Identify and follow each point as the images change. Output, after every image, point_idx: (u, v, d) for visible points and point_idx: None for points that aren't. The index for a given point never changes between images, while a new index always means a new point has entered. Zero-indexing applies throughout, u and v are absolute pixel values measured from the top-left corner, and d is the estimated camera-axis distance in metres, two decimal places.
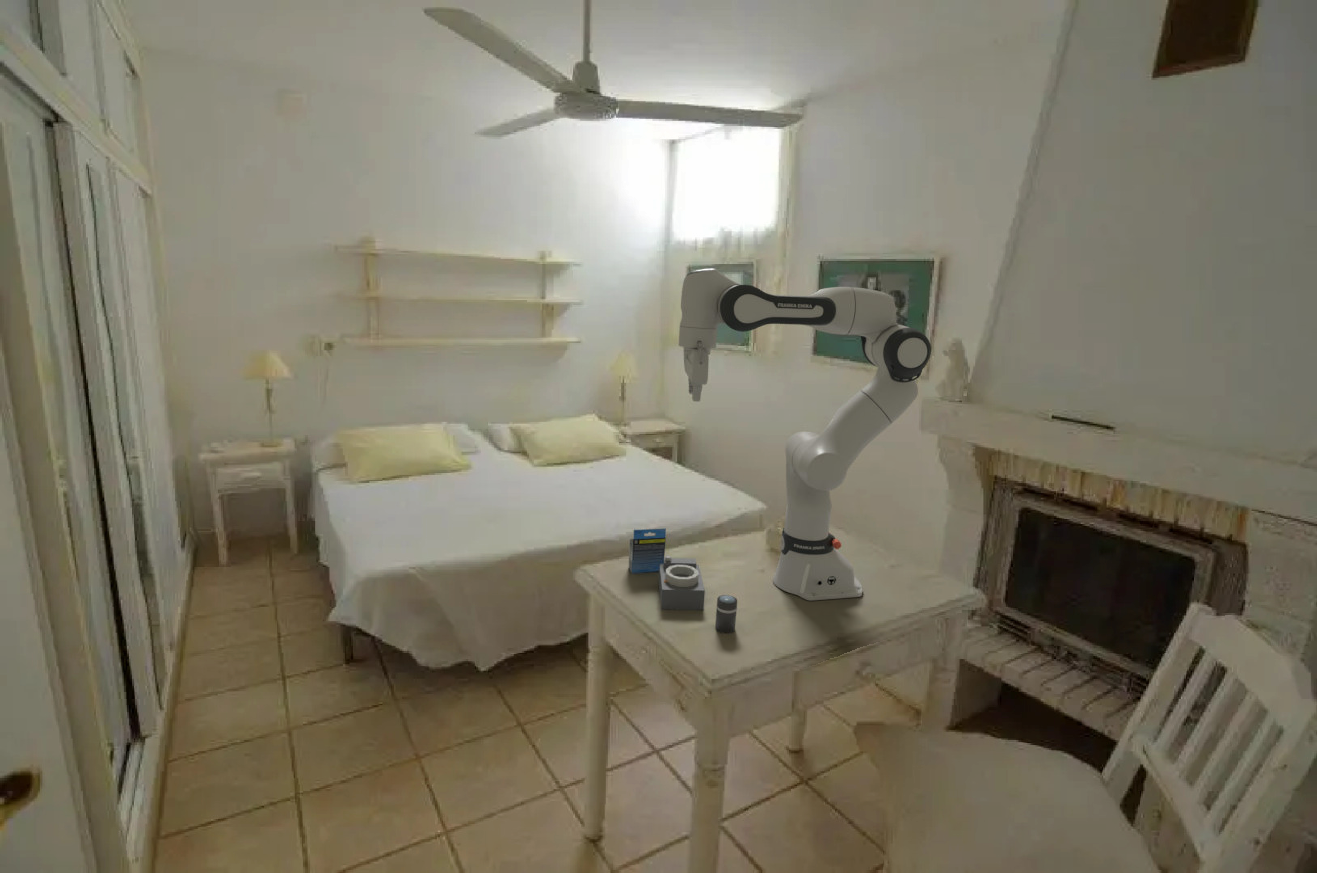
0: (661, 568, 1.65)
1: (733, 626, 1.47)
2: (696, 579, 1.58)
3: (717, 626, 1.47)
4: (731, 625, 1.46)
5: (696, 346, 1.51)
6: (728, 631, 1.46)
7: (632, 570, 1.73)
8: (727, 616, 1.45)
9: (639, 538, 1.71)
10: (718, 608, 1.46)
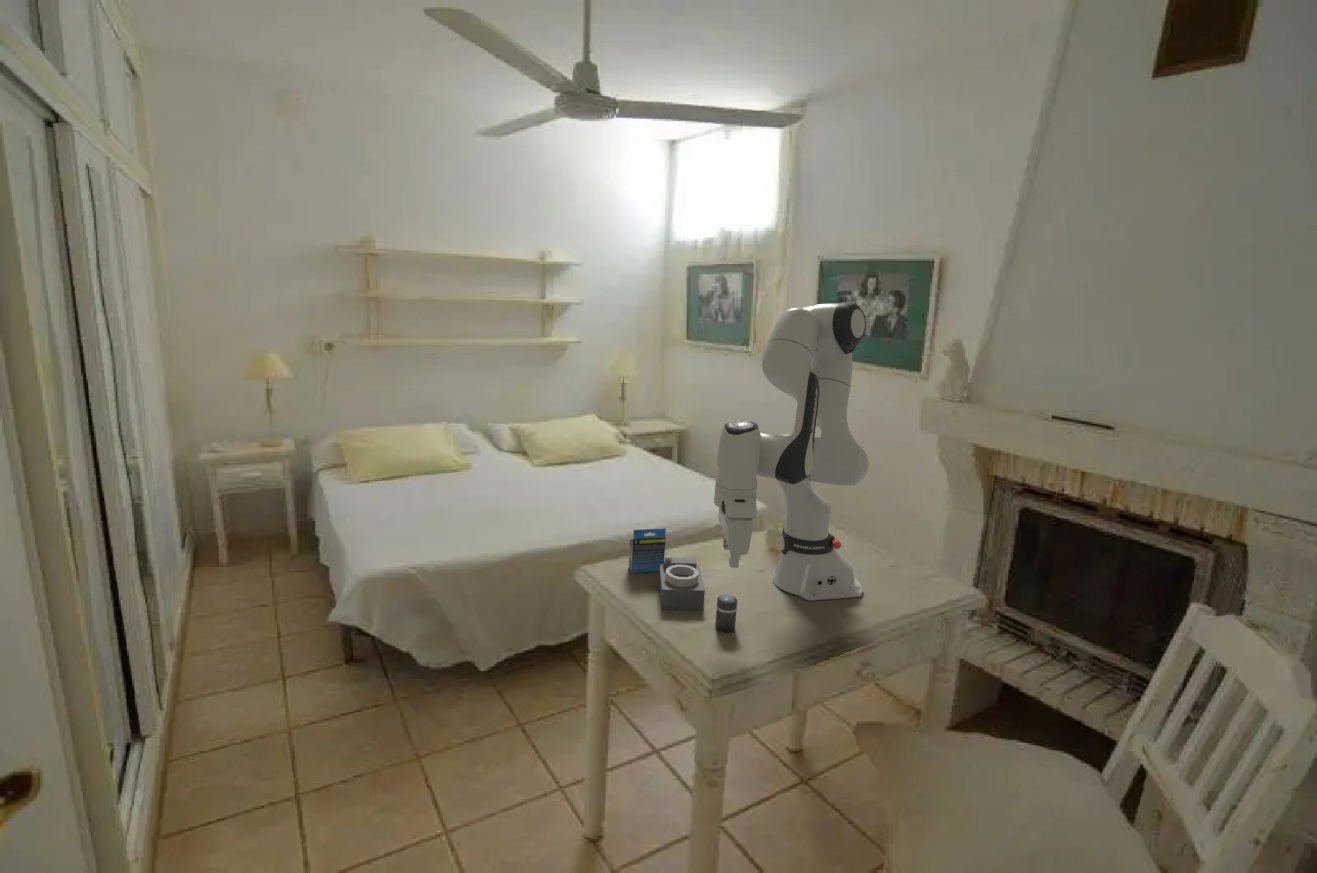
0: (661, 568, 1.65)
1: (733, 626, 1.47)
2: (696, 579, 1.58)
3: (717, 626, 1.47)
4: (731, 625, 1.46)
5: None
6: (728, 631, 1.46)
7: (632, 570, 1.73)
8: (727, 616, 1.45)
9: (639, 538, 1.71)
10: (718, 608, 1.46)
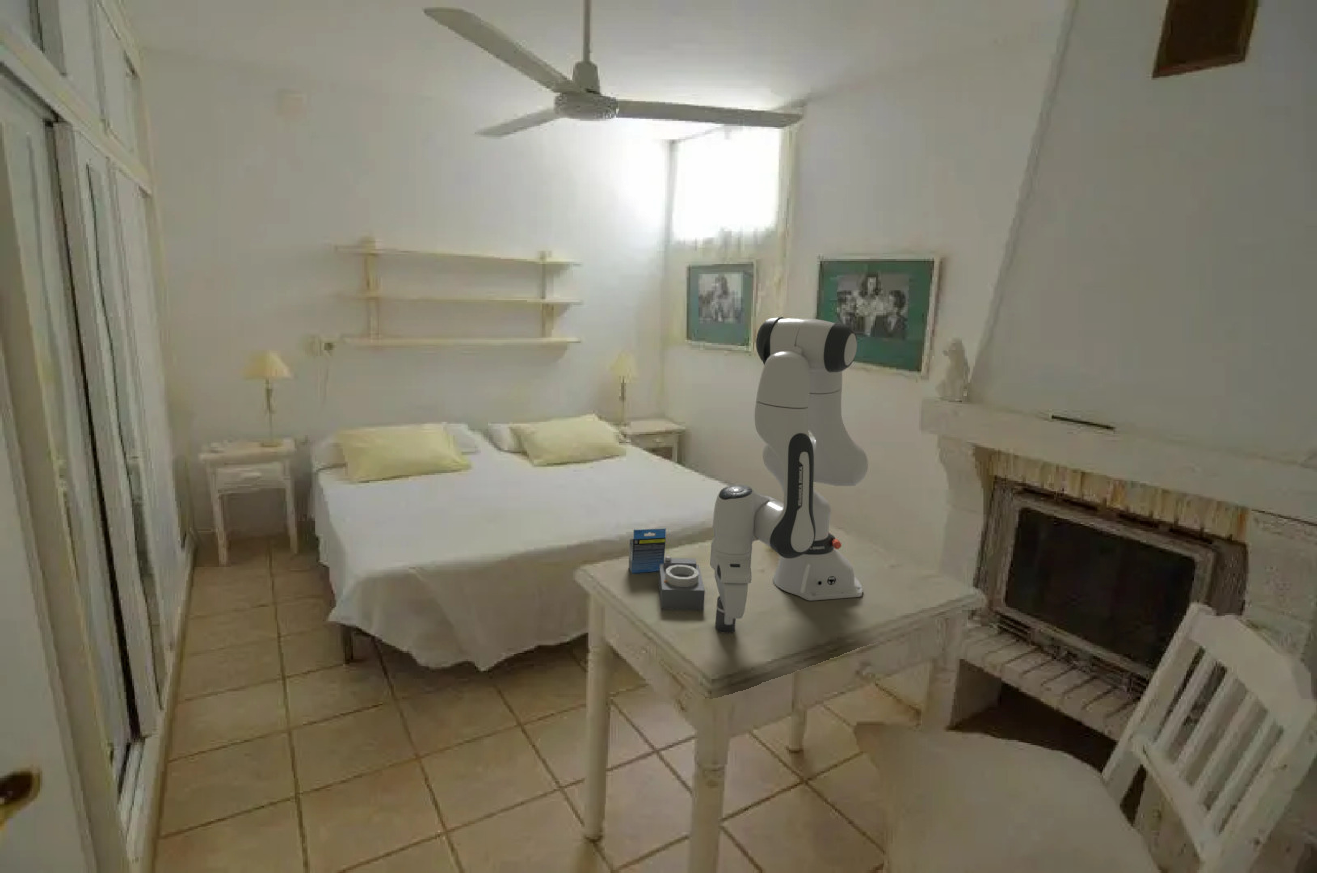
0: (661, 568, 1.65)
1: (733, 626, 1.47)
2: (696, 579, 1.58)
3: (717, 626, 1.47)
4: None
5: None
6: (728, 631, 1.46)
7: (632, 570, 1.73)
8: None
9: (639, 538, 1.71)
10: (718, 608, 1.46)
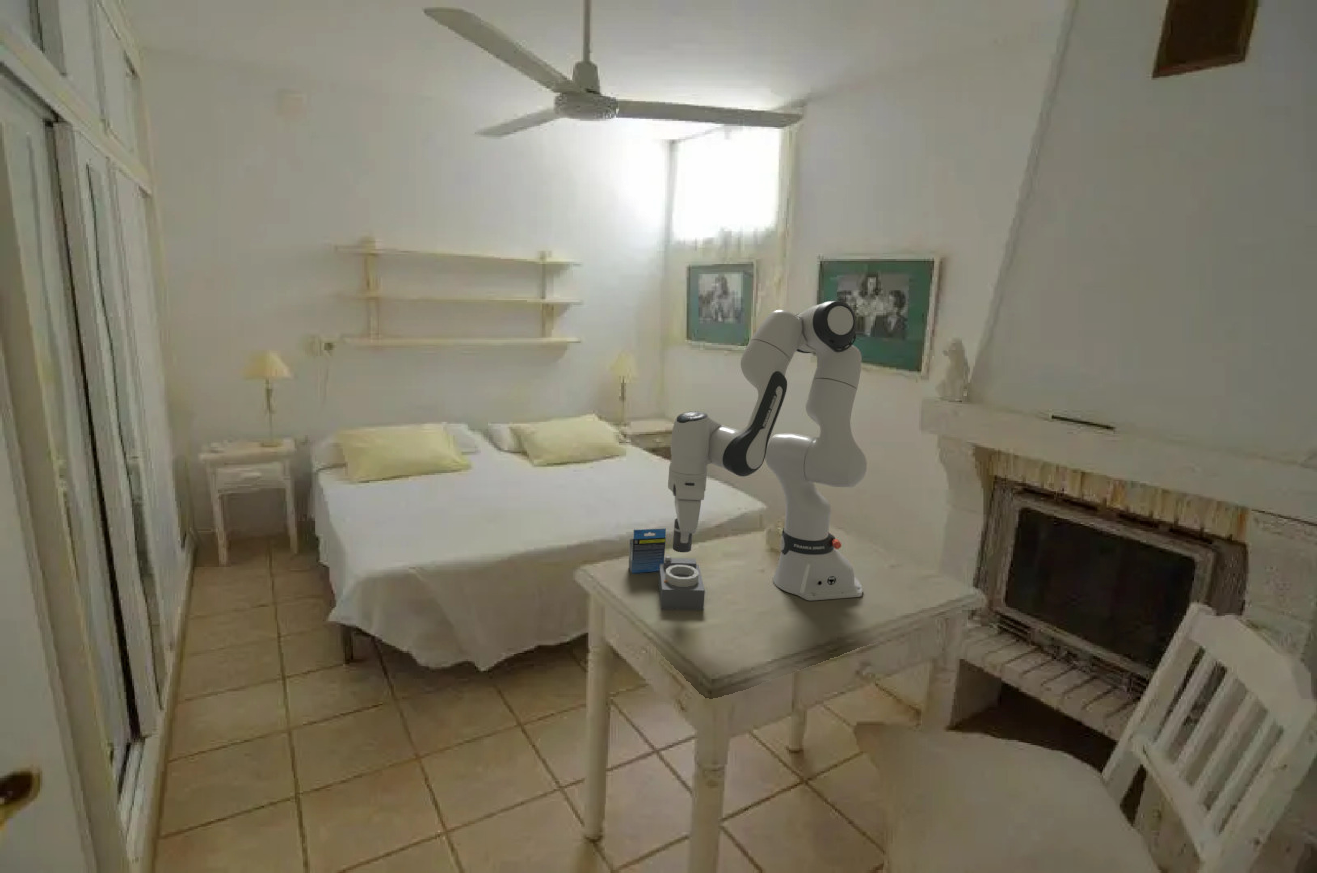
0: (661, 568, 1.65)
1: (689, 546, 1.56)
2: (696, 579, 1.58)
3: (674, 546, 1.56)
4: (687, 544, 1.55)
5: None
6: (684, 550, 1.55)
7: (632, 570, 1.73)
8: None
9: (639, 538, 1.71)
10: (675, 528, 1.55)
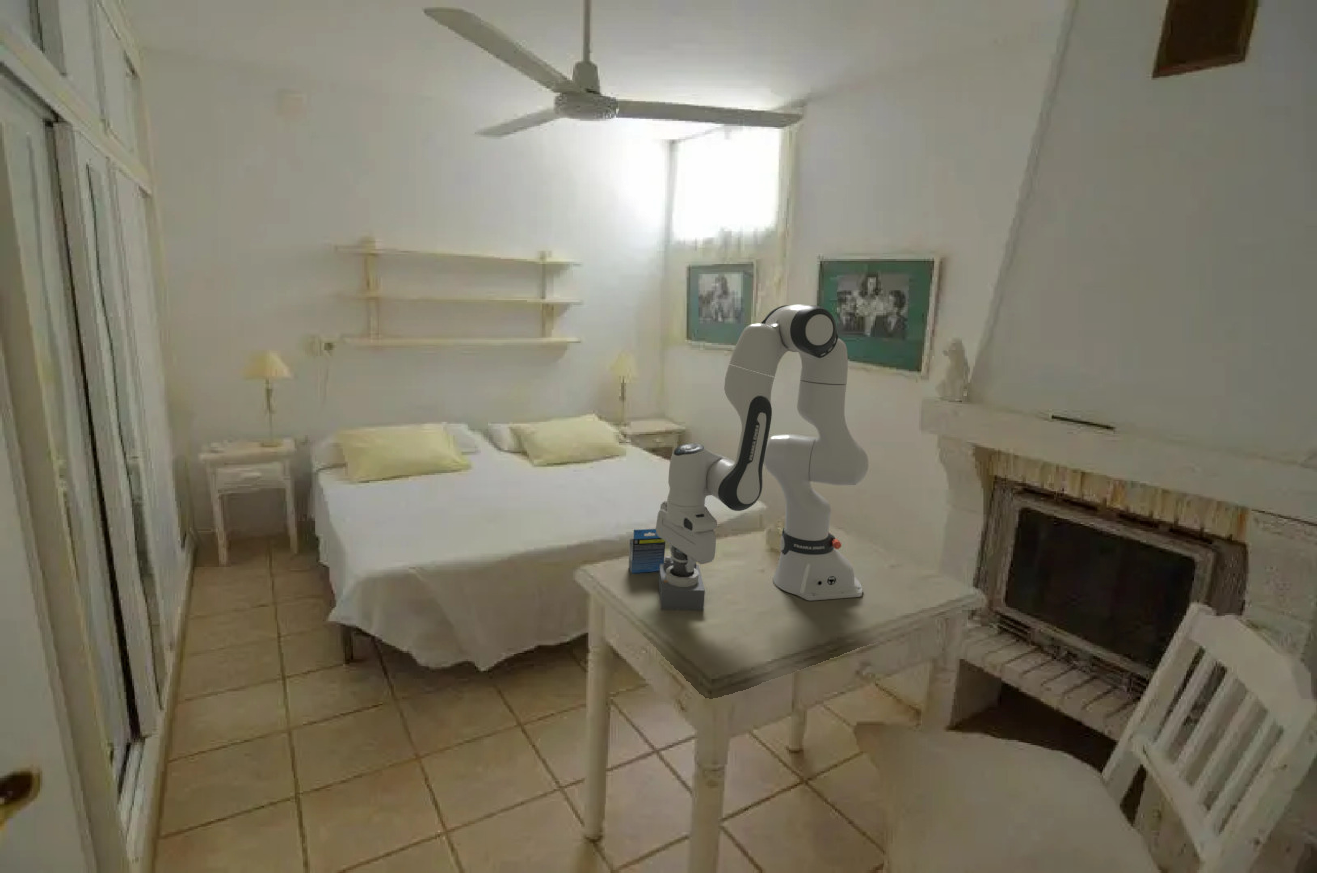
0: (661, 568, 1.65)
1: (690, 573, 1.59)
2: (696, 579, 1.58)
3: None
4: (689, 572, 1.58)
5: None
6: None
7: (632, 570, 1.73)
8: None
9: (639, 538, 1.71)
10: (677, 560, 1.57)
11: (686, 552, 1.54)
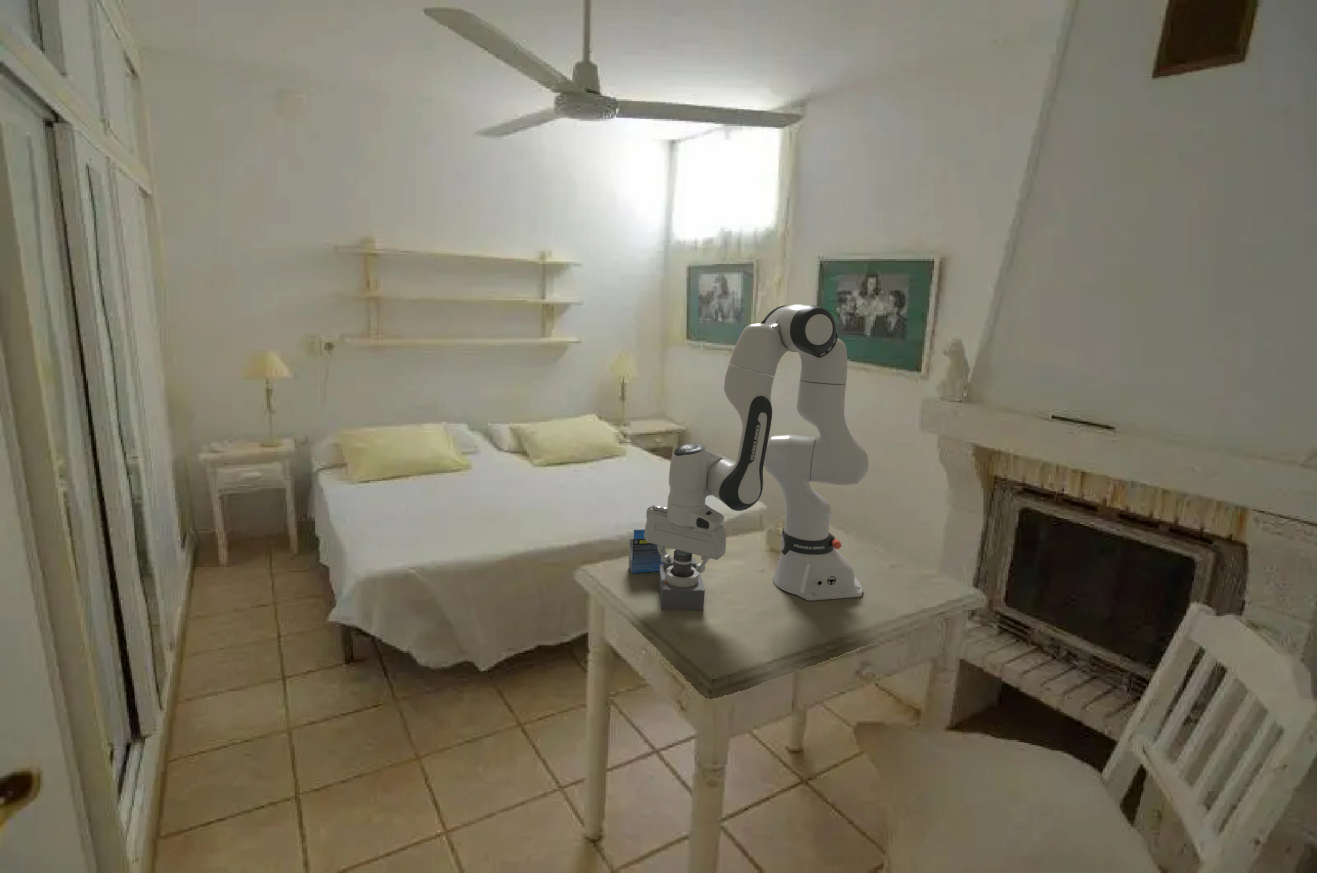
0: (661, 568, 1.65)
1: None
2: (696, 579, 1.58)
3: None
4: None
5: None
6: None
7: (632, 570, 1.73)
8: (690, 565, 1.58)
9: (639, 538, 1.71)
10: (682, 562, 1.56)
11: (695, 551, 1.54)
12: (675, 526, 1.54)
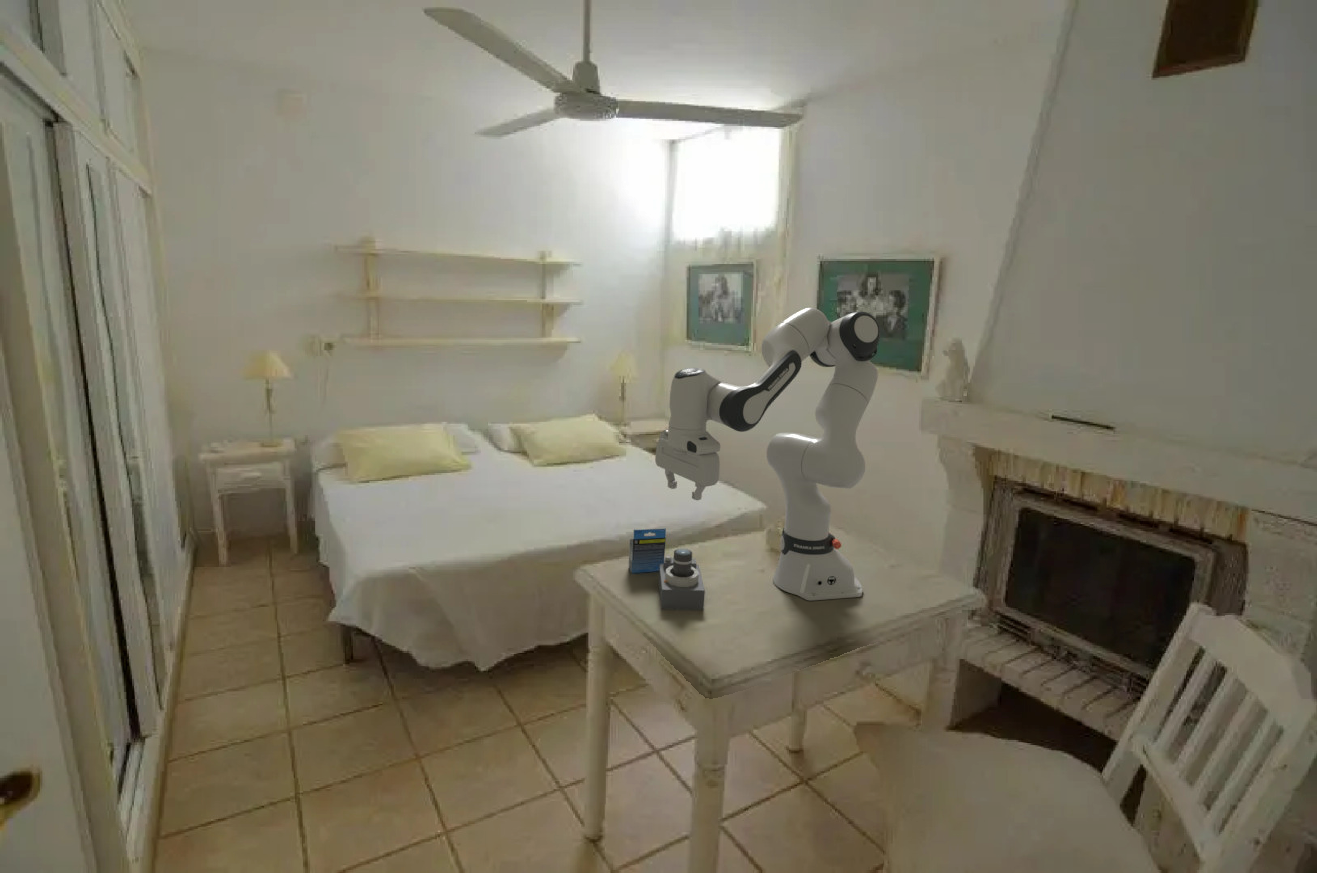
0: (661, 568, 1.65)
1: None
2: (696, 579, 1.58)
3: None
4: None
5: None
6: None
7: (632, 570, 1.73)
8: (690, 565, 1.58)
9: (639, 538, 1.71)
10: (682, 562, 1.56)
11: (689, 477, 1.53)
12: (673, 449, 1.55)
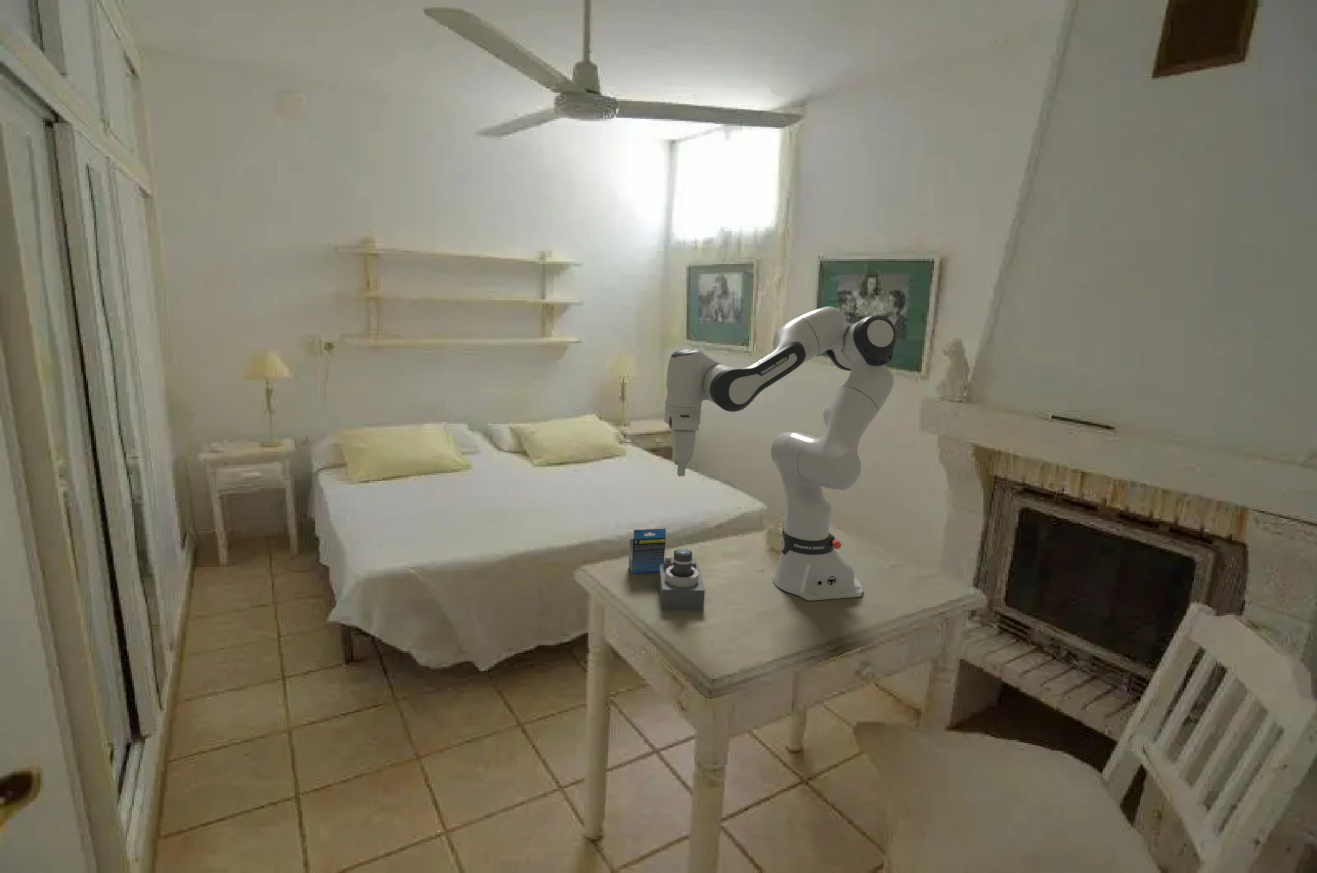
0: (661, 568, 1.65)
1: None
2: (696, 579, 1.58)
3: None
4: None
5: None
6: None
7: (632, 570, 1.73)
8: (690, 565, 1.58)
9: (639, 538, 1.71)
10: (682, 562, 1.56)
11: (674, 452, 1.60)
12: None
